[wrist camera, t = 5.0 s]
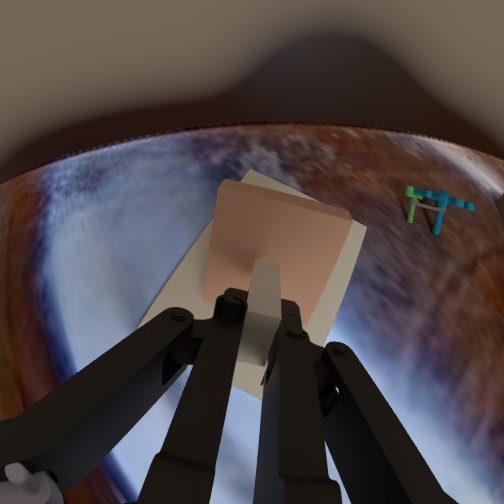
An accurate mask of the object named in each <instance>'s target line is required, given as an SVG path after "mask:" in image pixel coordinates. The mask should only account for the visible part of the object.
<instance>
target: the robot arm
mask: <svg viewBox="0 0 504 504" xmlns="http://www.w3.org/2000/svg"><path fill="white" fill-rule="evenodd" d="M267 360H268V361H267ZM236 361H240V362H245V363H249V364H254V365H259V366H263V367H265V365H266V362H267V368H266V370H265V373H264V376H263V379H262V381H261V384H260V385H261V386H263V397H262V410H261V422H260V434H259V446H258V457H257V467H256V478H255V488H254V498H253V504H342V496H341V489H340V486H339V484H338V482H337V481H335V480H331V479H330V478H329V475H328V467H327V457H326V449H325V442H326V444H327V447H328V449H329V451H330V454H331V456H332V459H333V461H334V463H335V466H336V468H337V471H338V473H339V475H340V478H341V480H342V483H343V485H344V487H345V490H346V492H347V495H348V497H349V499H350V502H351V504H459V503H457V502H456V501H455V500H454V499H453V498H451V497H450V496H449V495H448V494H446V493H445V492H444V491H443V489H442V488H441V486H440V484H439V483H438V481H437V479H436V478H435V476H434V474H433V473H432V471H431V470H430V468H429V466H428V465H427V463H426V461H425V460H424V458H423V457H422V455H421V453H420V452H419V450H418V449H417V447H416V446H415V444H414V442H413V441H412V439H411V438H410V436H409V435H408V433H407V431H406V430H405V428H404V427H403V425H402V424H401V422H400V421H399V419H398V417H397V416H396V414H395V413H394V411H393V410H392V408H391V407H390V405H389V404H388V402H387V401H386V399H385V398H384V396H383V395H382V393H381V392H380V390H379V389H378V387H377V386H376V384H375V383H374V381H373V380H372V378H371V377H370V375H369V374H368V372H367V371H366V369H365V368H364V366H363V365H362V364H361V362H360V361H359V359H358V358H357V356H356V355H355V353H354V352H353V350H352V349H351V348H350V347H348V346H347V345H345V344H344V343H341V342H335V341H334V342H329V343H327V344H326V346H325V348H324V347H321V346H319V345H316V344H314V343H312V342H311V341H310V338H309V335H308V333H307V332H306V331H305V330H304V329H303V327H302V320H301V314H300V308H299V306H298V305H297V303H296V302H295V301H291V300H286V299H282V298H281V291H280V267H279V264H277V263H273V262H269V261H265V260H261V259H256V260H255V265H254V269H253V273H252V277H251V281H250V285H249V289H248V291H245V290H240V289H236V288H232V287H230V288H228V289H226V290H225V292H224V294H223V295H220V296H218V297H217V298H216V303H215V308H214V313H213V317H212V318H209V319H194V315H193V314H192V313H191V312H190V311H189V310H187V309H184V308H181V307H169V308H167V309H165V310H163V311H162V312H161V313H159V314H158V315H157V316H155V317H154V318H152V319H151V320H150V321H148V322H147V323H145V324H144V325H143V326H141V327H140V328H138V329H137V330H136V331H134V332H133V333H132V334H130V335H129V336H127V337H126V338H125V339H123V340H122V341H120V342H119V343H118V344H116V345H115V346H113V347H112V348H111V349H109V350H108V351H107V352H105V353H104V354H102V355H101V356H100V357H98V358H97V359H96V360H94V361H93V362H91V363H90V364H89V365H87V366H86V367H84V368H83V369H82V370H80V371H79V372H78V373H76V374H75V375H73V376H72V377H71V378H69V379H68V380H67V381H65V382H64V383H62V384H61V385H60V386H58V387H57V388H56V389H54V390H53V391H51V392H50V393H49V394H47V395H46V396H45V397H43V398H42V399H41V400H39V401H38V402H36V403H35V404H34V405H32V406H31V407H30V408H28V409H27V410H25V411H24V412H23V413H21V414H20V415H19V416H17V417H14V418H10V419H6V420H2V421H0V504H63V498H62V495H61V493H63V492H65V491H67V490H68V489H70V488H72V487H73V486H75V485H76V484H77V483H79V482H80V481H81V480H82V479H83V478H84V477H86V476H87V475H88V474H89V473H90V471H91V470H92V469H93V468H94V467H95V466H96V465H97V464H98V463H99V462H100V461H101V460H102V459H103V458H104V457H105V456H106V455H107V454H108V453H109V452H110V451H111V450H112V449H113V448H114V447H115V446H116V445H117V444H118V443H119V441H120V440H121V439H122V438H123V437H124V436H125V435H126V434H127V433H128V432H129V431H130V430H131V429H132V428H133V427H134V426H135V424H136V423H137V422H138V421H139V420H140V419H141V418H142V417H143V416H144V415H145V414H146V413H147V411H148V410H149V409H150V408H151V407H152V406H153V405H154V404H155V403H156V402H157V401H158V399H159V398H160V397H161V396H162V395H163V394H164V393H165V392H166V391H167V390H168V388H169V387H170V386H171V385H172V384H173V383H174V382H175V381H176V379H177V378H178V377H179V376H180V375H181V374H182V373H183V372H184V371H185V369H186V368H187V366H188V364H189V365H193V367H192V370H191V372H190V375H189V378H188V380H187V383H186V385H185V388H184V390H183V393H182V396H181V398H180V401H179V403H178V406H177V409H176V411H175V414H174V416H173V419H172V422H171V424H170V427H169V430H168V432H167V435H166V438H165V440H164V443H163V445H162V448H161V450H160V452H159V453H157V454H156V455H155V457H154V458H153V461H152V463H151V465H150V468H149V471H148V473H147V476H146V478H145V481H144V484H143V486H142V489H141V492H140V494H139V497H138V500H137V501H134V502H128V503H124V504H209V502H210V497H211V492H212V487H213V482H214V477H215V466H216V460H217V456H218V451H219V446H220V441H221V436H222V431H223V426H224V421H225V416H226V411H227V406H228V401H229V396H230V391H231V386H232V381H233V376H234V371H235V366H236ZM263 383H264V384H263ZM336 388H338V390H339V393H338V392H337V390H336ZM324 439H325V440H324Z"/></svg>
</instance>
